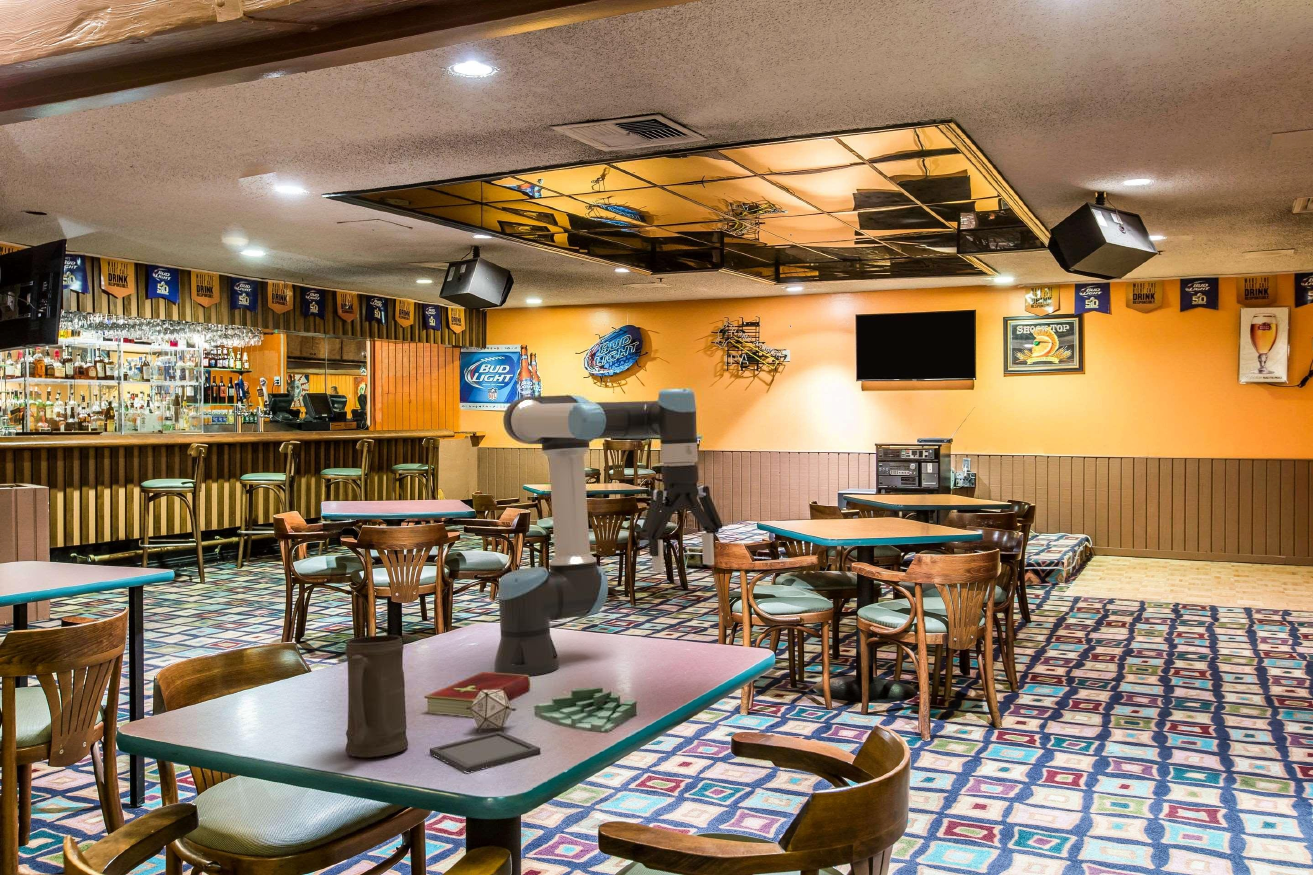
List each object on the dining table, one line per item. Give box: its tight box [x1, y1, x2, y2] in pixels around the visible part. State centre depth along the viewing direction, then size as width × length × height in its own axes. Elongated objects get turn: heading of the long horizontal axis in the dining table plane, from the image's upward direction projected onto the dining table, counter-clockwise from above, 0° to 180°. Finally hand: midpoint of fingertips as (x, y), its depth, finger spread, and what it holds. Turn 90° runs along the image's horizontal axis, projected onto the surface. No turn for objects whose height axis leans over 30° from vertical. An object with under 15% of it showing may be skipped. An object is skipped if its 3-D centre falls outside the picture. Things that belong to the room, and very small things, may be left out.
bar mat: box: [429, 730, 541, 773], centre depth 173 cm, size 14×14×1 cm
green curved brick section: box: [533, 686, 638, 733], centre depth 194 cm, size 20×16×5 cm
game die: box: [466, 686, 517, 733], centre depth 187 cm, size 9×8×10 cm
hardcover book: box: [423, 671, 531, 719], centre depth 208 cm, size 12×21×4 cm, turn 156°
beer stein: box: [344, 634, 409, 758], centre depth 175 cm, size 15×11×20 cm
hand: (684, 568), depth 204 cm, fingers open, 13 cm apart
